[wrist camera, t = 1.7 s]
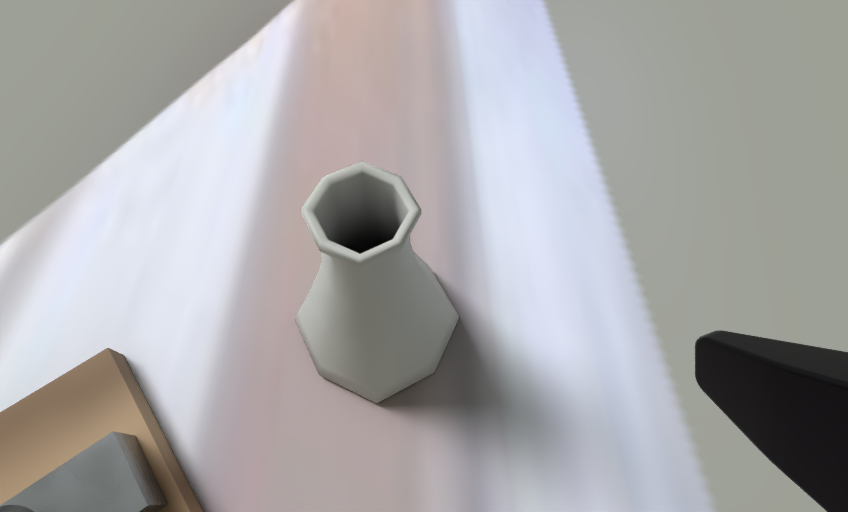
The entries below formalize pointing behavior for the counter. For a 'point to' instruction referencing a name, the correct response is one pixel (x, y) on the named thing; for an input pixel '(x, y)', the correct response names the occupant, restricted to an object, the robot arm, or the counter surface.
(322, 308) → the flask
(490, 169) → the counter surface
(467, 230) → the counter surface
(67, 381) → the tan board
